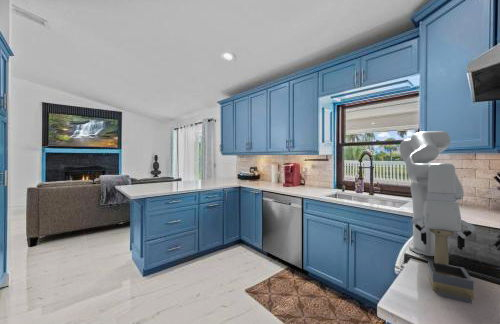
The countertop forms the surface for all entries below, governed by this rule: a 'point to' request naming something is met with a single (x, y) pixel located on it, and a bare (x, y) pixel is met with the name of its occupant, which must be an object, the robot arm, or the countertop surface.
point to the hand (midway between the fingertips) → (441, 246)
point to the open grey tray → (451, 281)
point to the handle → (441, 246)
